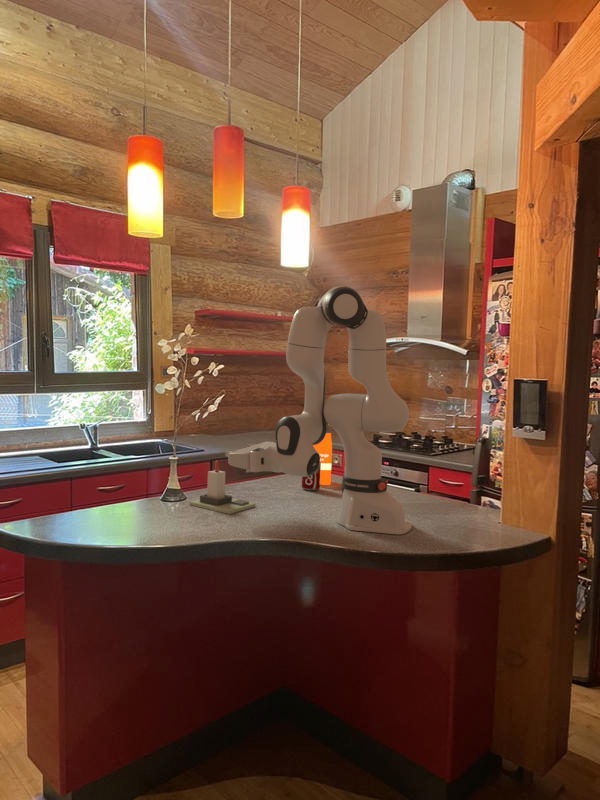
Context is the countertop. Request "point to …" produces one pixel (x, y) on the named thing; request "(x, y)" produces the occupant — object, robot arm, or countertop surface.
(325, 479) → the orange juice
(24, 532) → the countertop surface
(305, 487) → the soda can
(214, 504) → the board
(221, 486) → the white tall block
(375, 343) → the robot arm
